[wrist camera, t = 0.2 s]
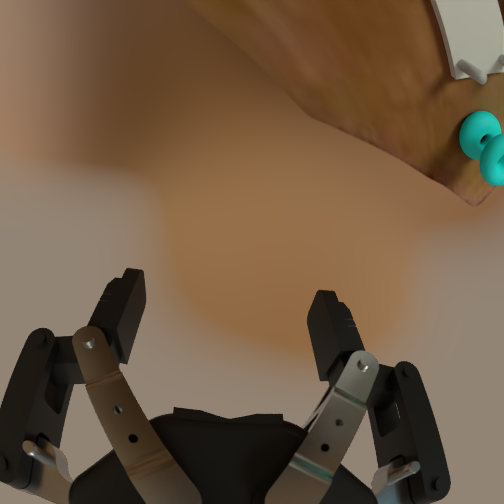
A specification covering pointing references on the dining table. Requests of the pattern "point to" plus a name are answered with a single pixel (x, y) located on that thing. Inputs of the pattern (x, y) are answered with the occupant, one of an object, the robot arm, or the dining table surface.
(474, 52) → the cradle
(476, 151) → the donuts
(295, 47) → the dining table surface
